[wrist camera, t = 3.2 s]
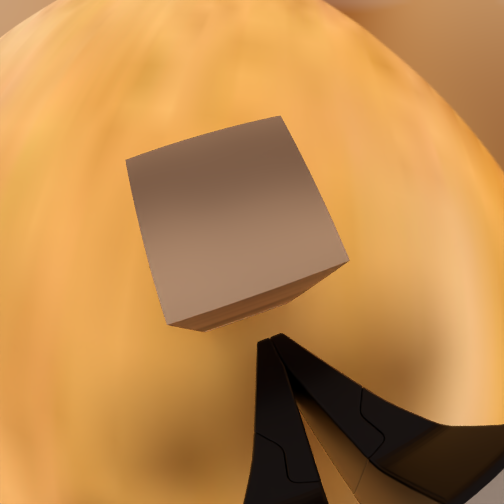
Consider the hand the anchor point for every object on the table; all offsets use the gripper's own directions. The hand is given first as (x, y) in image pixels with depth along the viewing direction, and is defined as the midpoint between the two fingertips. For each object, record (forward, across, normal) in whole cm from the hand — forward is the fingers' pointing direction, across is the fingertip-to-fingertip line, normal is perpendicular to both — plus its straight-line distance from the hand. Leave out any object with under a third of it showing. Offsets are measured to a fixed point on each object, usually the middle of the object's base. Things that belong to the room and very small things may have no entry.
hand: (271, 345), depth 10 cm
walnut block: (+8, 0, +3) cm, 9 cm away
